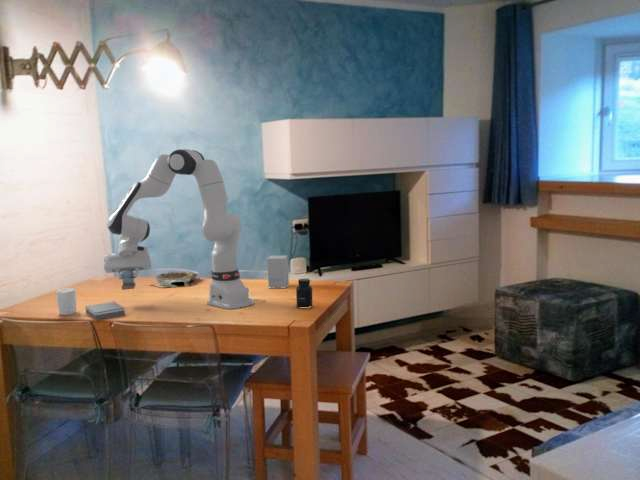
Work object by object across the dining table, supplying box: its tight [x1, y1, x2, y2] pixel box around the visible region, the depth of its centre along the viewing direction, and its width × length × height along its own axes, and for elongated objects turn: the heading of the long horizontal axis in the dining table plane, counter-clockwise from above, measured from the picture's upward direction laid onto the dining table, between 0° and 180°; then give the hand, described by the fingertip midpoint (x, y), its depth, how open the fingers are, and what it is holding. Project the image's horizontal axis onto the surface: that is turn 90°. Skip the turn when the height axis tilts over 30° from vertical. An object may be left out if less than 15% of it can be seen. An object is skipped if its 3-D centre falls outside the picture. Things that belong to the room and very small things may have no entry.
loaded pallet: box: [121, 269, 136, 291], centre depth 264 cm, size 7×5×8 cm
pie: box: [152, 271, 198, 289], centre depth 310 cm, size 28×27×5 cm
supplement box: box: [266, 255, 290, 289], centre depth 292 cm, size 9×9×15 cm
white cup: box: [55, 287, 77, 316], centre depth 254 cm, size 8×8×10 cm
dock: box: [84, 301, 126, 320], centre depth 251 cm, size 14×12×3 cm
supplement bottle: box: [295, 278, 313, 308], centre depth 252 cm, size 7×7×12 cm
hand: (127, 278), depth 263 cm, fingers closed on loaded pallet, 5 cm apart
